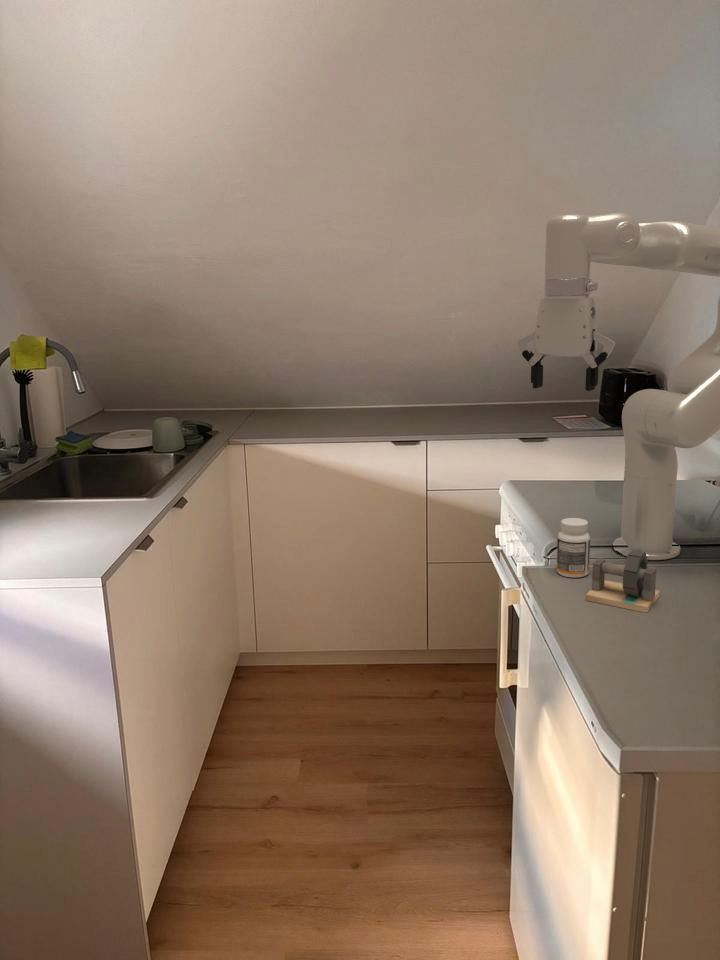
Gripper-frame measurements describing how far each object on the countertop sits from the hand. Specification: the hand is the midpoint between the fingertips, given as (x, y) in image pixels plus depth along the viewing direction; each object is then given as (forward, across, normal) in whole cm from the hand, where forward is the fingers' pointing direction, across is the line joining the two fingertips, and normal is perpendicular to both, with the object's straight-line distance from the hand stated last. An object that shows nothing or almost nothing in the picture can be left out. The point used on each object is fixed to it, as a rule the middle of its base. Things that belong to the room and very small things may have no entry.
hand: (563, 388), depth 137 cm
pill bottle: (+34, -4, +3) cm, 34 cm away
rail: (+33, -15, +10) cm, 38 cm away
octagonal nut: (+32, -17, +10) cm, 38 cm away
